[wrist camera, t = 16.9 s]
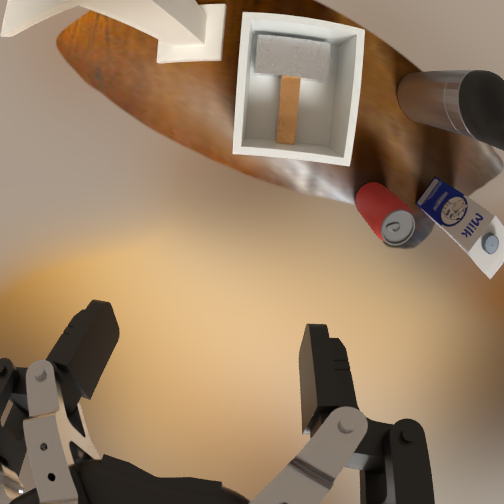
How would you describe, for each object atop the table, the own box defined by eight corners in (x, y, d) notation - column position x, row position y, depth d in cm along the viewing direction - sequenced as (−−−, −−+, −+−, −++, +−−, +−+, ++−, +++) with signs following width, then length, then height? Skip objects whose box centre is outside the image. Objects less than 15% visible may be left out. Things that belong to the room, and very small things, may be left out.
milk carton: (433, 222, 47) (490, 280, 30) (414, 204, 46) (474, 260, 28) (453, 196, 44) (517, 245, 27) (435, 175, 43) (504, 221, 25)
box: (343, 43, 33) (364, 29, 24) (332, 152, 42) (349, 166, 34) (247, 30, 33) (242, 11, 24) (239, 142, 42) (232, 153, 34)
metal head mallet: (324, 48, 33) (330, 43, 29) (315, 144, 41) (320, 148, 37) (258, 40, 33) (257, 34, 29) (251, 137, 41) (250, 141, 37)
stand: (233, 6, 30) (181, -118, 3) (228, 60, 35) (152, -17, 8) (159, 11, 30) (29, -60, 3) (154, 64, 35) (-1, 43, 8)
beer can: (355, 180, 44) (381, 205, 34) (389, 181, 44) (421, 207, 34) (352, 215, 48) (374, 249, 37) (385, 216, 47) (413, 248, 37)
